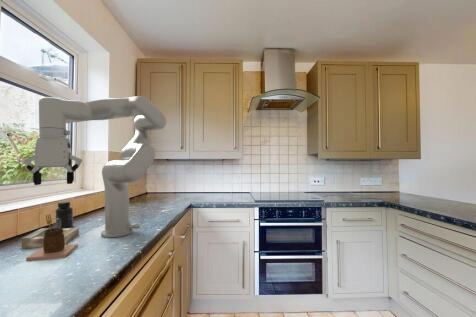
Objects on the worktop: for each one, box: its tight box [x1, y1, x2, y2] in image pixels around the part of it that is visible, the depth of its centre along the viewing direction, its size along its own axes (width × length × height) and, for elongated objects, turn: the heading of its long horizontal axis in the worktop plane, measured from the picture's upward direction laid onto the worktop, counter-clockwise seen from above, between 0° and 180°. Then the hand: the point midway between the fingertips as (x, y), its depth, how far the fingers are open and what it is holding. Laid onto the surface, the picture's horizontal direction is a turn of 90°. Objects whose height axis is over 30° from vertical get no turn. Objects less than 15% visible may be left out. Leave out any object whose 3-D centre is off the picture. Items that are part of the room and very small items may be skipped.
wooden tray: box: [21, 227, 80, 249], centre depth 103 cm, size 14×14×4 cm
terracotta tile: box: [25, 243, 79, 262], centre depth 89 cm, size 11×11×1 cm
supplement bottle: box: [55, 201, 74, 229], centre depth 123 cm, size 7×7×12 cm
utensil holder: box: [43, 214, 65, 253], centre depth 89 cm, size 6×6×12 cm
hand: (54, 184), depth 89 cm, fingers open, 9 cm apart
